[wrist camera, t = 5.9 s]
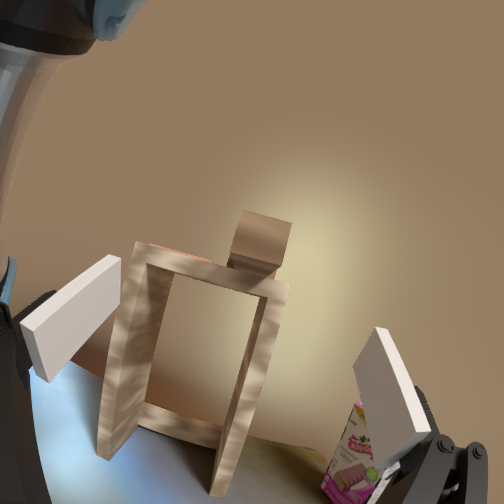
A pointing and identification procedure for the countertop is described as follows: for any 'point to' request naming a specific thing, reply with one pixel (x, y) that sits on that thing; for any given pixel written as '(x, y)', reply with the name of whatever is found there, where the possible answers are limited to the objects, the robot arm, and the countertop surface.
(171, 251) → the mat
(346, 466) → the candy bar box
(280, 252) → the mallet
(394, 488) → the robot arm
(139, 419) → the wooden open frame
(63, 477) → the countertop surface
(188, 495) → the countertop surface
